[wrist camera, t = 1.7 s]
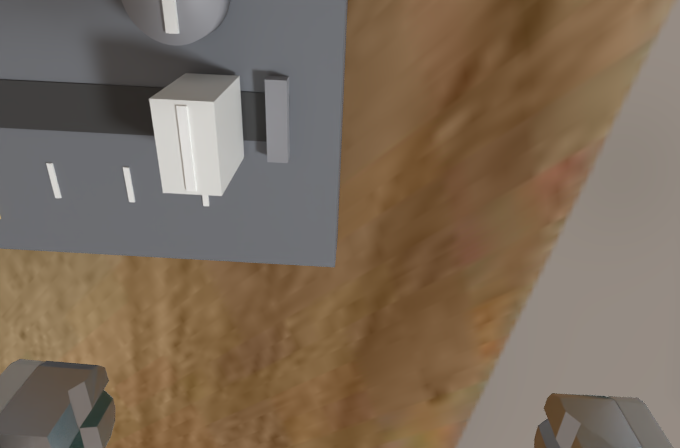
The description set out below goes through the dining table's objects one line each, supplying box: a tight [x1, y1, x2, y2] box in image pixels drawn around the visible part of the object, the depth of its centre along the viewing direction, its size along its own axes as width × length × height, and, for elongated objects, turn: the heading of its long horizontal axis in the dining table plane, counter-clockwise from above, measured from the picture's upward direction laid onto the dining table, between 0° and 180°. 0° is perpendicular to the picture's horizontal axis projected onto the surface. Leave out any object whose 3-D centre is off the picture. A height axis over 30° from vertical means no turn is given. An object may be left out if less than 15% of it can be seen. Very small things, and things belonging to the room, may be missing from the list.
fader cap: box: [149, 73, 244, 196], centre depth 22 cm, size 4×2×5 cm, turn 178°
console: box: [0, 0, 347, 267], centre depth 25 cm, size 17×26×5 cm, turn 88°
